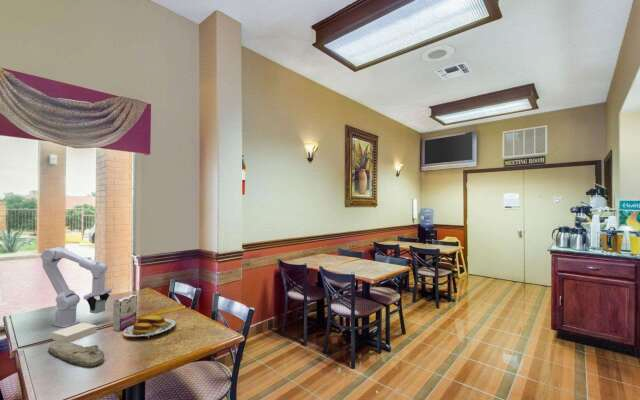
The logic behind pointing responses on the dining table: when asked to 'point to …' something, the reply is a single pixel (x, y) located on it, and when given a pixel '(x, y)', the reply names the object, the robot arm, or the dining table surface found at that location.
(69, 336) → the cream box
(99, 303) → the slate block
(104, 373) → the dining table surface
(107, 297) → the robot arm
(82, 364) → the long grey stone
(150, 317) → the food on plate
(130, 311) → the candy bar box
